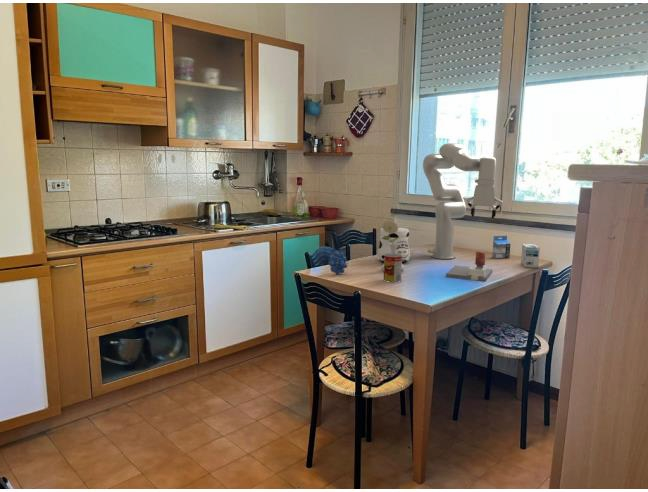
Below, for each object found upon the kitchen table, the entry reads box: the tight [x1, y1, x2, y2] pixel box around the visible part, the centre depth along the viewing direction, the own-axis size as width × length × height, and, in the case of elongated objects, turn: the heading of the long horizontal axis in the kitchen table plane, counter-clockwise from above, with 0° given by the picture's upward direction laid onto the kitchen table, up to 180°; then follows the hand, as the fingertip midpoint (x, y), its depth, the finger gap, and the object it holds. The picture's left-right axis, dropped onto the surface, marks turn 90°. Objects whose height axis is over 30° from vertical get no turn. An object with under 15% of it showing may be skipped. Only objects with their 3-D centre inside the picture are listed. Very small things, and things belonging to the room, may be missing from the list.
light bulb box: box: [520, 243, 541, 269], centre depth 246 cm, size 11×7×11 cm, turn 169°
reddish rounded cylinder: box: [474, 250, 486, 268], centre depth 228 cm, size 4×4×9 cm
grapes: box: [328, 250, 348, 275], centre depth 224 cm, size 12×7×12 cm, turn 133°
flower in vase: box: [381, 220, 405, 272], centre depth 233 cm, size 13×11×25 cm
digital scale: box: [445, 264, 493, 282], centre depth 227 cm, size 18×20×2 cm
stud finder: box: [468, 266, 487, 277], centre depth 219 cm, size 7×5×3 cm
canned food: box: [383, 253, 403, 283], centre depth 214 cm, size 8×8×12 cm
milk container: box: [377, 226, 411, 264], centre depth 253 cm, size 17×17×18 cm
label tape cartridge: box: [491, 235, 511, 260], centre depth 265 cm, size 9×4×12 cm, turn 104°
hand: (482, 217), depth 234 cm, fingers open, 9 cm apart
